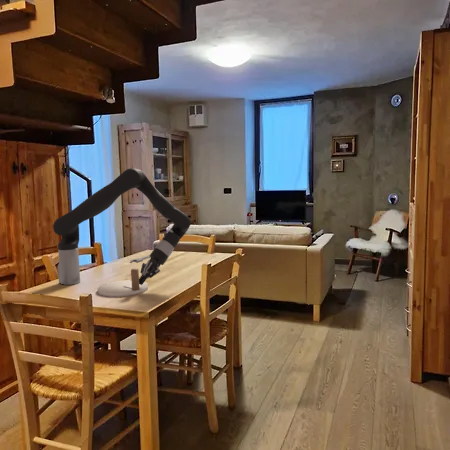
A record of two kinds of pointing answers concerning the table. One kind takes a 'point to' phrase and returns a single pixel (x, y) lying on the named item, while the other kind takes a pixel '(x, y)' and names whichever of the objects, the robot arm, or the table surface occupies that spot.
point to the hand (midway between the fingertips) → (139, 283)
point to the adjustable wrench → (140, 259)
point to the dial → (123, 287)
